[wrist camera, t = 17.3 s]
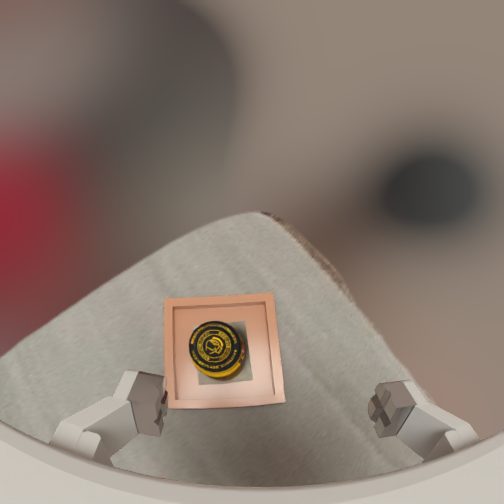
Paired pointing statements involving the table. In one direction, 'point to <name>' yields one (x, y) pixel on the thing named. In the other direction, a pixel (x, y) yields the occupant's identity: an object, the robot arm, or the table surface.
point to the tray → (259, 342)
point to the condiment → (220, 352)
